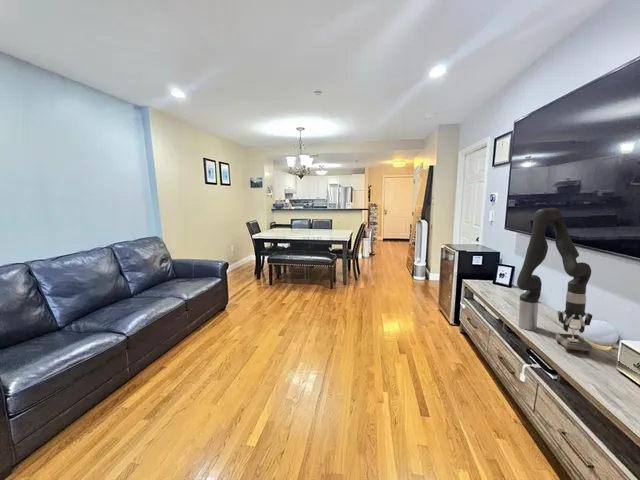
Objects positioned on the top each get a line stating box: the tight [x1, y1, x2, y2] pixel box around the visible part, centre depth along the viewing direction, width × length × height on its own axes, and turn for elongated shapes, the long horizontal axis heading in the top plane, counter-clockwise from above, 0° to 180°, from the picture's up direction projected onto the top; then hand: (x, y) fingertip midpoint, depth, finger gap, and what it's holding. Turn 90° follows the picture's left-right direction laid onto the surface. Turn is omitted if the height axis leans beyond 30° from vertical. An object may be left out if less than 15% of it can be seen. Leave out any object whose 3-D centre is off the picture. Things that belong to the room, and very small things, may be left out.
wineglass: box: [567, 318, 582, 342], centre depth 145 cm, size 6×6×12 cm
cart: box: [555, 332, 593, 355], centre depth 146 cm, size 12×10×5 cm
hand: (573, 331), depth 146 cm, fingers closed on wineglass, 5 cm apart
